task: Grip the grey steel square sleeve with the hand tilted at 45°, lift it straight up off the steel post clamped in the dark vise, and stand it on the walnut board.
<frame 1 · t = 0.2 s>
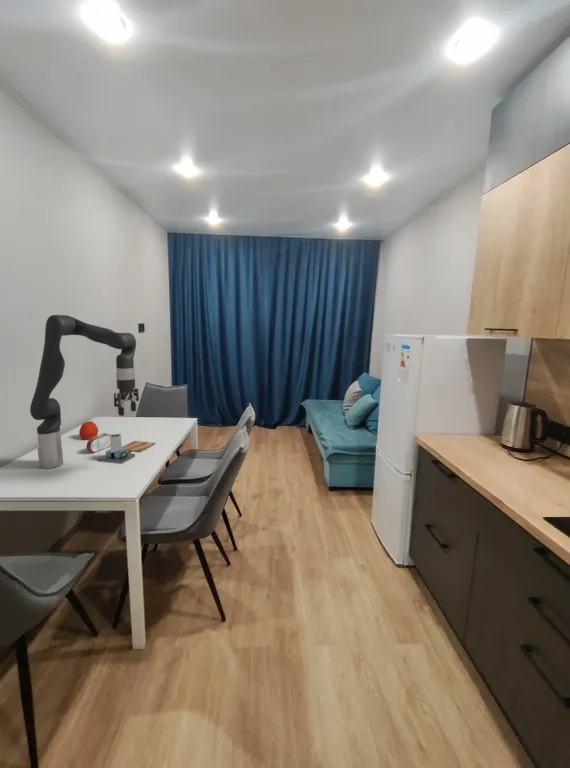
hand: (127, 413, 158), 29 cm above the table, tool pointing down, fingers open, 8 cm apart
sleeve: (116, 450, 180), point 4 cm above the table, touching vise
apple: (89, 438, 214), on the table
board: (137, 447, 198), on the table
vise: (117, 458, 181), on the table
tin: (100, 450, 193), on the table
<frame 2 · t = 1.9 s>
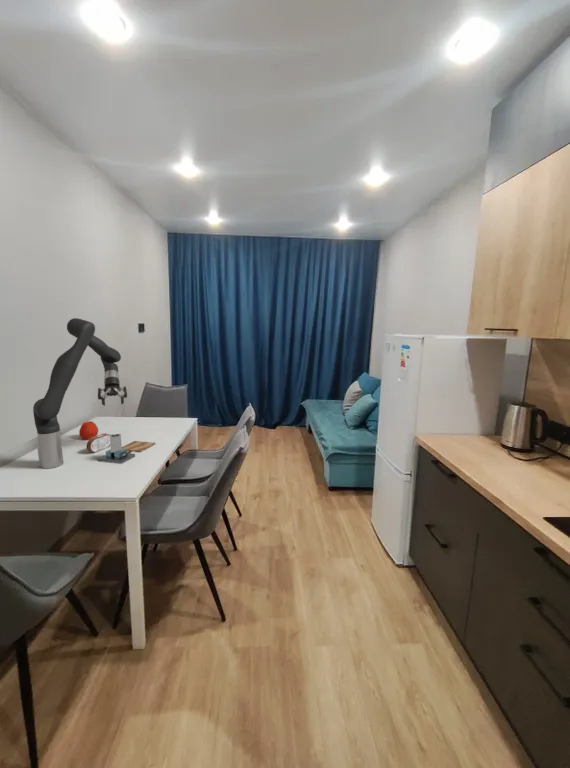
hand: (113, 404, 186), 27 cm above the table, tool tilted 45°, fingers open, 8 cm apart
nothing on the table moved.
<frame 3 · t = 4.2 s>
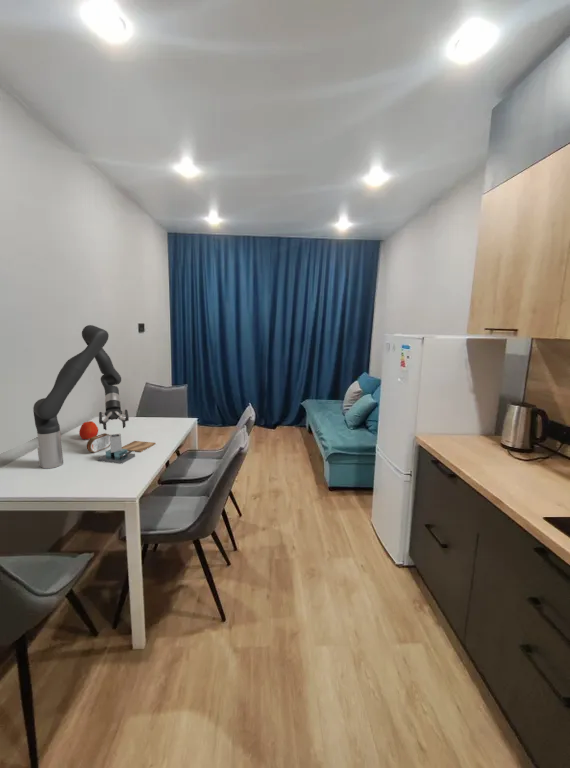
hand: (114, 428, 184), 14 cm above the table, tool tilted 45°, fingers open, 8 cm apart
nothing on the table moved.
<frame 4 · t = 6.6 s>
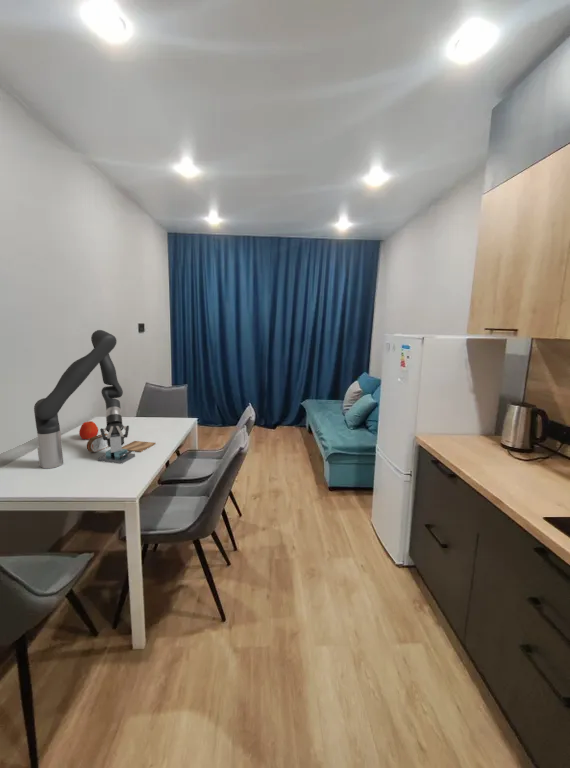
hand: (116, 445, 178), 8 cm above the table, tool tilted 45°, fingers closed on sleeve, 5 cm apart
sleeve: (116, 450, 180), point 5 cm above the table, touching gripper, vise
everything else where it was.
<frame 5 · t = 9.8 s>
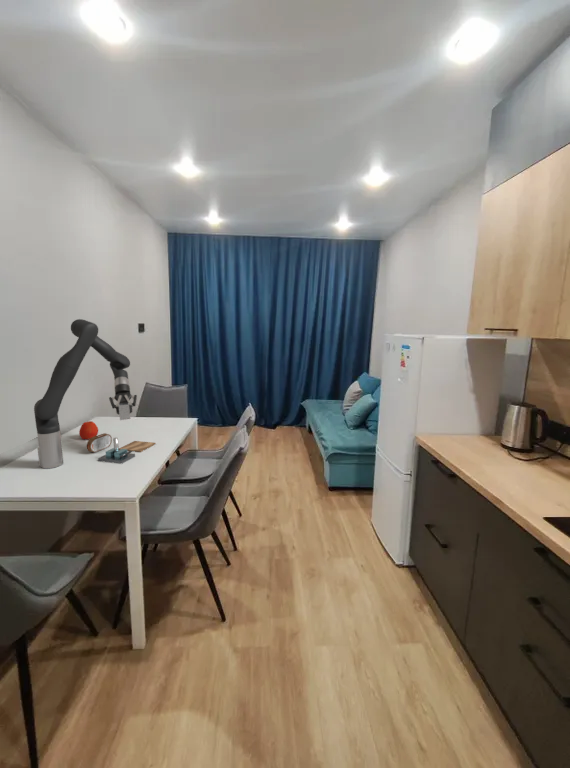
hand: (124, 413, 183), 23 cm above the table, tool tilted 45°, fingers closed on sleeve, 5 cm apart
sleeve: (125, 418, 185), point 19 cm above the table, touching gripper
everything else where it was.
when the fingers open (6 cm above the table, at t = 13.1 s): sleeve drops 1 cm, resting on board.
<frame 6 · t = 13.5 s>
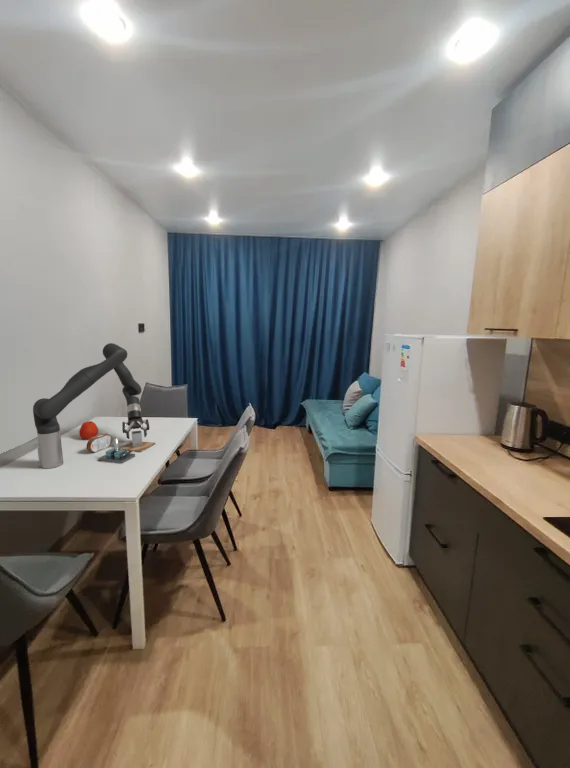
hand: (137, 437, 196), 6 cm above the table, tool tilted 45°, fingers open, 8 cm apart
sleeve: (137, 445, 198), point 1 cm above the table, touching board
everything else where it was.
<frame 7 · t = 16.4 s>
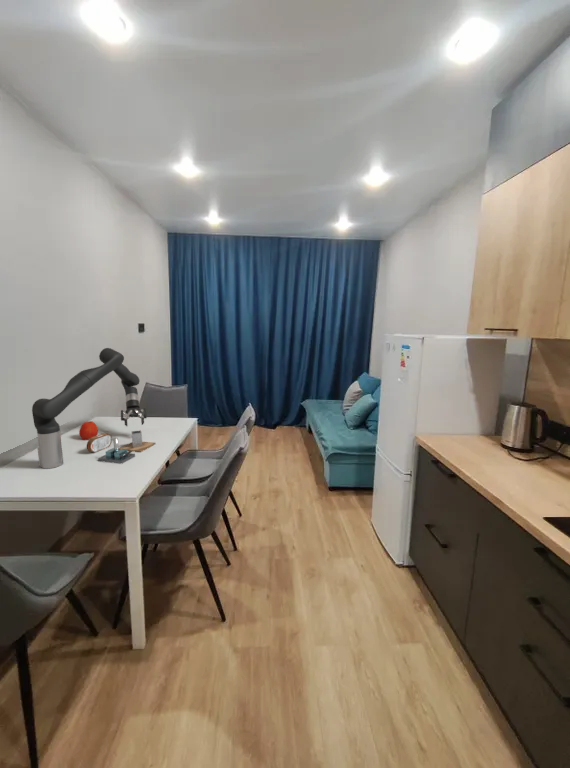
hand: (134, 424, 207), 10 cm above the table, tool tilted 45°, fingers open, 8 cm apart
nothing on the table moved.
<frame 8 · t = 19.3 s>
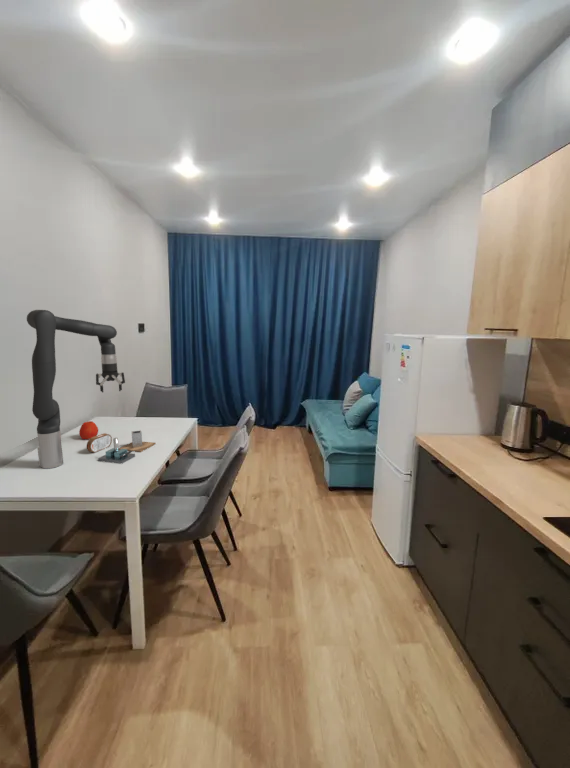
hand: (111, 391, 193), 32 cm above the table, tool pointing down, fingers open, 8 cm apart
nothing on the table moved.
at the end: sleeve inside the target area on the board (0.0 cm from its centre), point 0.8 cm above the board's base; sleeve tilted 0°; the gripper is holding nothing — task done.
